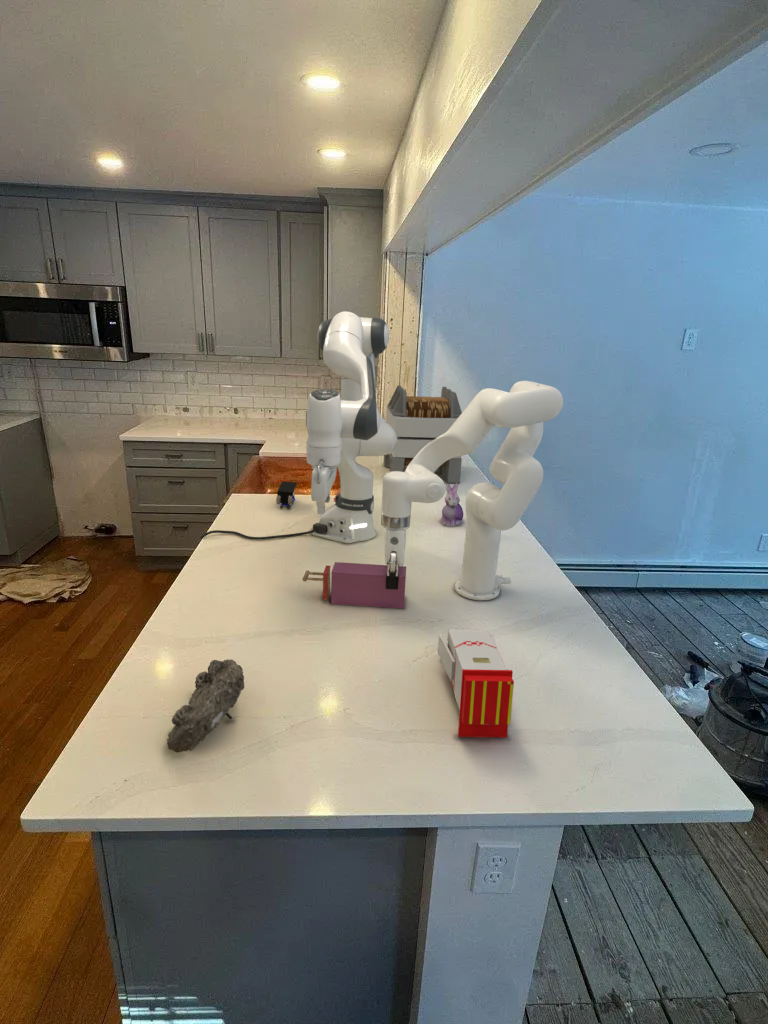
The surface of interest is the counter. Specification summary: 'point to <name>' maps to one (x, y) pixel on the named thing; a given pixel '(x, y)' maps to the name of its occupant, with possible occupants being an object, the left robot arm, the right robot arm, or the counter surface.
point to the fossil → (206, 705)
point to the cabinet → (366, 585)
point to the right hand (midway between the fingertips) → (392, 582)
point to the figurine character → (286, 494)
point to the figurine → (452, 507)
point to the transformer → (421, 428)
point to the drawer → (325, 580)
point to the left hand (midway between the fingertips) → (323, 507)
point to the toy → (478, 682)
